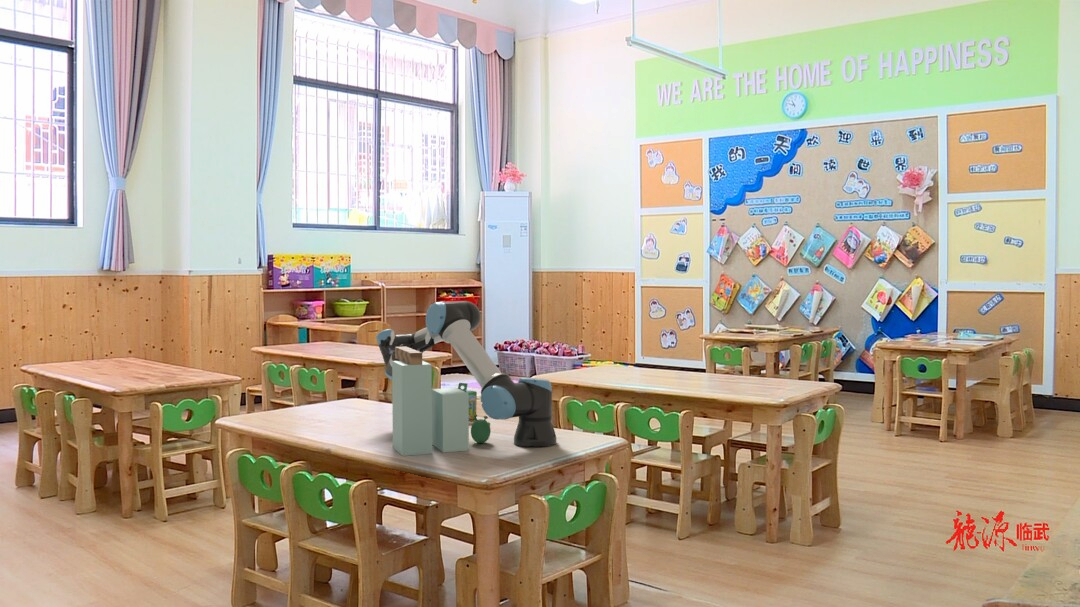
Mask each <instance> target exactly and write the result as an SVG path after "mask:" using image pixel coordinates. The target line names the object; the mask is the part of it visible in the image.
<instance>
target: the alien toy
mask: <svg viewBox="0 0 1080 607" xmlns="http://www.w3.org/2000/svg"><path fill="white" fill-rule="evenodd" d="M473 417H474V418H475V419H474V422H472V424H471V427H470V435H471V438H472V440H473V441H474V442H475V443H477V444H483V443H484V444H485V443H486V442H487V441H488V440H489V439H490V436H491V422H489V421H487V419H488V417H489V416H488V415H484V416H483V419H481V418H480V419H479V418H478V414H476V415H474V416H473ZM477 418H478V419H477Z"/></svg>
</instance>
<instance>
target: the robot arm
mask: <svg viewBox="0 0 1080 607" xmlns="http://www.w3.org/2000/svg"><path fill="white" fill-rule="evenodd" d="M426 310H427V311H426V314H425V326H426V327H424V328H421V329H420V330H417V331H415V332H413V333H409V334H406V333H405V334H396V333H395V330H393V329H391V328H387V329H383V330H381V331H380V332H378V333H377V334H376V338H375V339H376V343H377V345H378V348H379V351H380V353H381V355H382V358H383V362H384V365H385V366H384V367H385V368H384V374H385V376H386V377H387V378H388V379H389V380H391V381H392V361H400V360H398V359H396V358H395V347H409V348H411V349H414V350H417V351H419V352H422V354H423V353H424V352H427V350H429V349H431V348H432V347H434V346H436V344H438V343H440V342H442V341H443V342H444V343H446V344H450V345H451V346H452V348H453V350H454V351H455V352H456V353H457V355H458V357H459V358H460V359H461V361H462V362H463V364H464V365H465V366H466V368H467V369H468V370H469V373H470V374H471V375H472V376H473V377H474V379H475V380H476V382H477V384H478V385H479V386H480V388H481V389H480V402H481V408H482V410H483V413H485V414H486V416H487V417H489V418H491V419H493V420H509V419H512V418H518V423H517V427H516V429H515V432H514V435H513V443H514V445H517V446H520V447H525V446H545V447H549V446H548V445H551V446H554V445H553V444H555V445H556V444H557V435H556V432H555V428H554V424H553V421H552V420H553V419H552V418H553V417H552V416H553V415H552V414H553V413H552V412H553V411H552V406H553V404H552V402H553V398H552V397H553V396H552V395H553V391H552V383H551V381H550V380H549V379H543V378H534V377H532V378H531V377H519V378H518V381H517V382H514V381H513V379H512V378H511V377H510V375H509V374H508V373H502V372H501V370H500V369H499V367H498V366H497V365H496V363H495V362H494V361H493V359H492V358H491V357H490V355H489V354H488V353H487V351H486V350H485V348H484V347H483V346H482V345H481V343H480V342H479V339H477V337H476V336H475V334H473V332H472V331H475V330H476V329H477V328H478V327H479V325H480V323H481V320H482V313H481V311H480V309H479V307H478V306H477V305H476V304H475V303H473V302H472V301H468V300H461V301H460V300H459V301H457V300H455V301H453V300H452V301H436V302H433V303H432V304H430V305H429V307H428V308H427V309H426Z"/></svg>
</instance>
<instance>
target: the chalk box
mask: <svg viewBox="0 0 1080 607" xmlns="http://www.w3.org/2000/svg"><path fill="white" fill-rule="evenodd" d="M462 387H463V388H462ZM457 388H458V389H460V390H462V391H464V392H467V393H469V421H470V420H476V419H475V418H474V417H473V416H474V415H477V399H478V398H477V391H475V390H468V389H467V388H468V383H466V382H459V383H458V387H457Z"/></svg>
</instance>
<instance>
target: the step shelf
mask: <svg viewBox="0 0 1080 607" xmlns="http://www.w3.org/2000/svg"><path fill="white" fill-rule="evenodd" d="M432 378H433V376H432V364H431V363H429V362H427V361H424V360H422V365H409V364H407V363H405V362H403V361H392V380H391V381H392V383H391V384H392V391H391V394H392V401H391V402H392V448H393V449H394V450H395V451H396V452H397V453H398V454H400V455H401V456H402V457H404V456H405V457H406V456H419V455H421V456H422V455H429V454H430V455H431V454H433V446H434V447H435V448H436V449H438V450H439V451H441V452H442V453H451V452H453V453H454V452H465V451H467V452H468V451H470V444H469V443H470V441H469V440H470V438H469V437H470V436H469V435H470V434H469V433H470V432H469V431H470V429H469V428H470V427H469V425H470V424H469V422H470V420H469V393H467V392H464V391H462V390H460V389H458V387H449V388H448V387H447V388H445V387H444V388H432V387H433V384H432Z"/></svg>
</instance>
